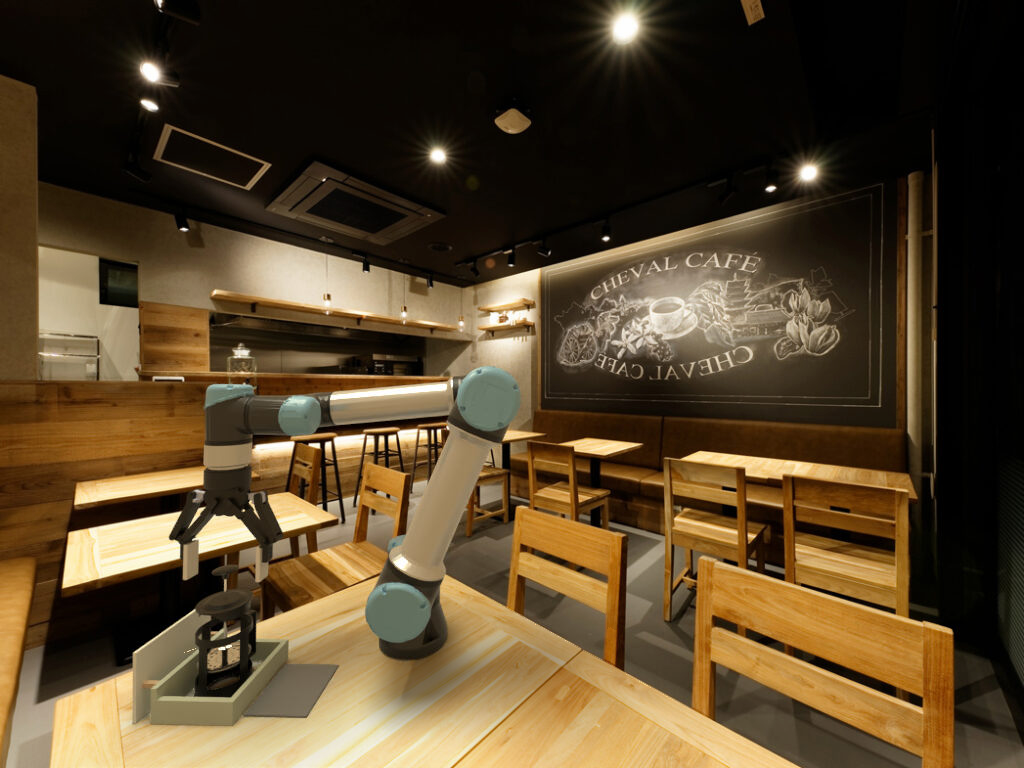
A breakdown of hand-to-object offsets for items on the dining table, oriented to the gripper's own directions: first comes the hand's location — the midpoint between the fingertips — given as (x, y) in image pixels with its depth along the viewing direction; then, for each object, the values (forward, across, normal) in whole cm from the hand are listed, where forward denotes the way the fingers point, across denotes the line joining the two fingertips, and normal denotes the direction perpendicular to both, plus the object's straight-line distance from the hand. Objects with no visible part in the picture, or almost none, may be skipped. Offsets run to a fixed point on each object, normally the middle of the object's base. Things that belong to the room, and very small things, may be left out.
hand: (226, 577), depth 78 cm
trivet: (+21, -14, 0) cm, 25 cm away
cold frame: (+21, +1, 0) cm, 21 cm away
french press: (+21, 0, 0) cm, 21 cm away
